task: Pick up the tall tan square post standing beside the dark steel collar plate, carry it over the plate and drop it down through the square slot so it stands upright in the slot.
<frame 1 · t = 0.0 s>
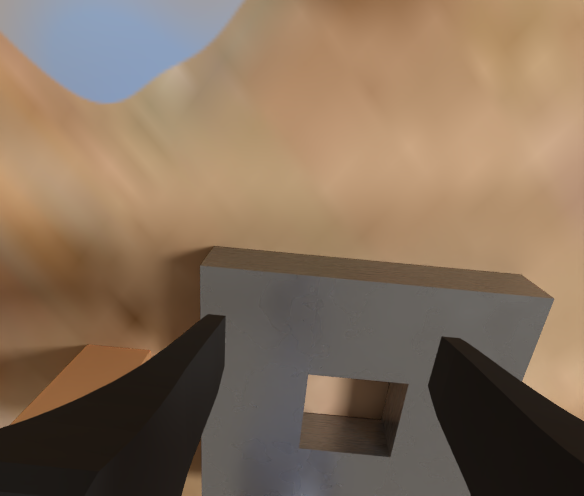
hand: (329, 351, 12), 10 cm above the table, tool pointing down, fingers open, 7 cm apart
tan square post: (121, 373, 25), on the table
collar: (346, 383, 25), on the table
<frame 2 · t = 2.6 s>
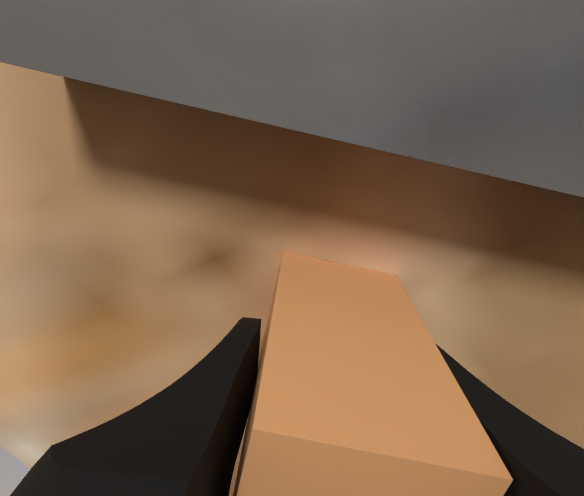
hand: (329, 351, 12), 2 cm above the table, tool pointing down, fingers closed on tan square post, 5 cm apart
tan square post: (325, 313, 14), on the table, touching gripper
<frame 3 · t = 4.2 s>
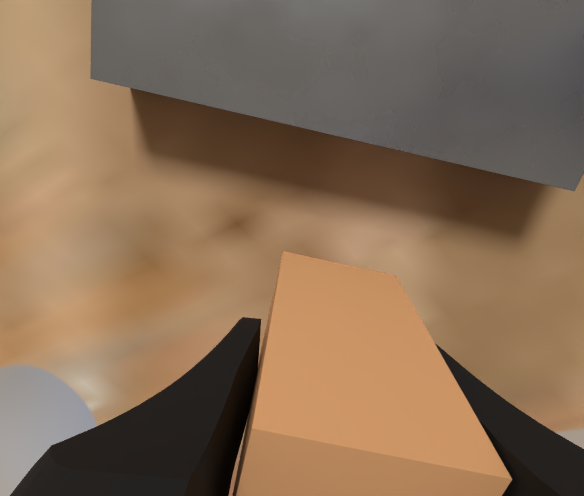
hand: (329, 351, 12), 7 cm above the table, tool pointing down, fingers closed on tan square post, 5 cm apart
tan square post: (325, 313, 14), point 5 cm above the table, touching gripper
when the fingers open (5 cm above the table, at t = 7.7 s): tan square post drops 2 cm, resting in collar.
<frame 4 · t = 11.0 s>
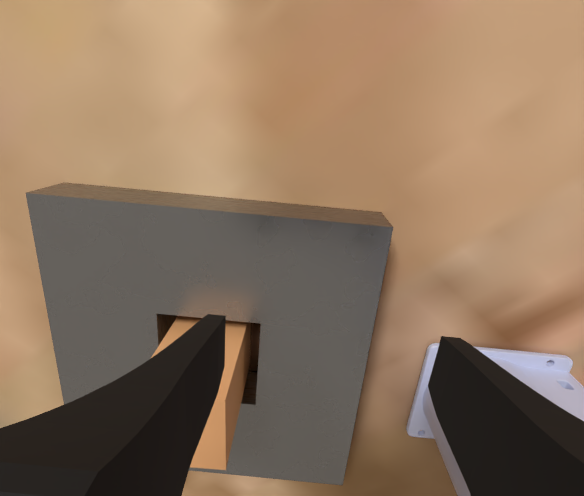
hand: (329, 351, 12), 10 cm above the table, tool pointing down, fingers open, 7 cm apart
tan square post: (218, 334, 24), resting in collar
collar: (219, 332, 24), on the table
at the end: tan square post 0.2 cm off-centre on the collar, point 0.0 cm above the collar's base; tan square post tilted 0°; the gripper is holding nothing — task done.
